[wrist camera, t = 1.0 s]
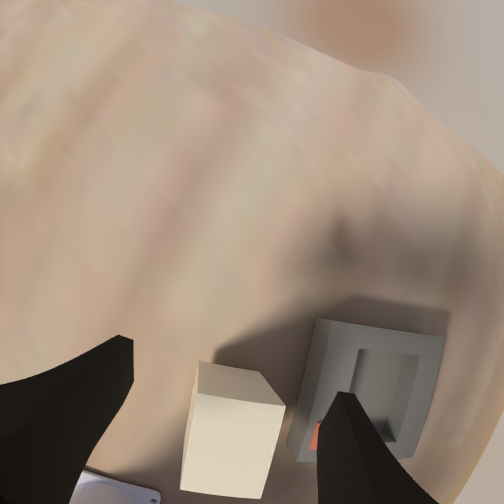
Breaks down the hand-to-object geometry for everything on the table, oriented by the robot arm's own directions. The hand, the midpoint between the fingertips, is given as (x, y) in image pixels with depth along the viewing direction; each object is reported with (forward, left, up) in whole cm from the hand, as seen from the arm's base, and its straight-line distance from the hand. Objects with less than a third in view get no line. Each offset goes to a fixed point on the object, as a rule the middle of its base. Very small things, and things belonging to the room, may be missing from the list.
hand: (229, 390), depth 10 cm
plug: (-4, -1, -11) cm, 12 cm away
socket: (-2, -12, -11) cm, 16 cm away
